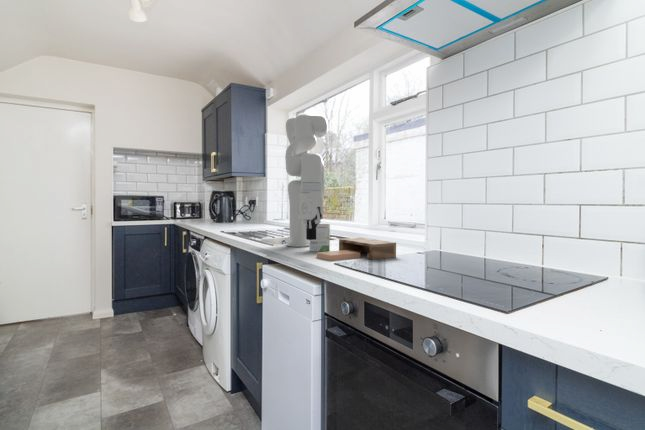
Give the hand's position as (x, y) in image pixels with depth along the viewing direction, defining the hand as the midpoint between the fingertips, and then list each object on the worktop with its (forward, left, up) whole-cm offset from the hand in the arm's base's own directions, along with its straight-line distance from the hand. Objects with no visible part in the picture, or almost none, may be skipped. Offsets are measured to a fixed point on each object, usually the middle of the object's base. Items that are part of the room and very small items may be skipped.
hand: (311, 239), depth 125 cm
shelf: (-1, +25, -8) cm, 27 cm away
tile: (-1, +12, -8) cm, 15 cm away
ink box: (-20, +16, -8) cm, 26 cm away
